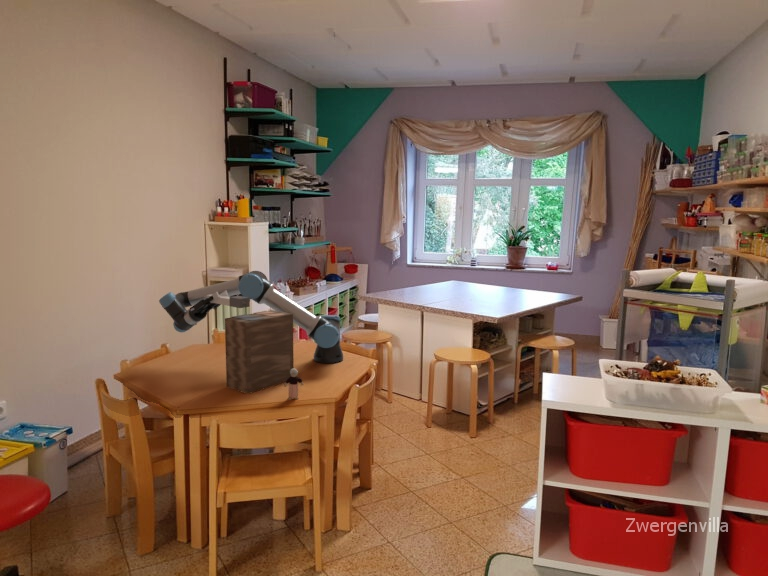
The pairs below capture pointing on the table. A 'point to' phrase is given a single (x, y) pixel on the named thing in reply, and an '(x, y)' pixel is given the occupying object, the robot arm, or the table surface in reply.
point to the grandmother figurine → (293, 384)
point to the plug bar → (232, 301)
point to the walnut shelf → (258, 350)
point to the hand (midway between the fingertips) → (222, 293)
